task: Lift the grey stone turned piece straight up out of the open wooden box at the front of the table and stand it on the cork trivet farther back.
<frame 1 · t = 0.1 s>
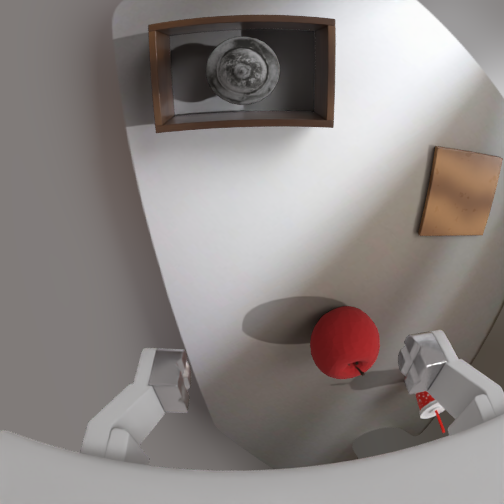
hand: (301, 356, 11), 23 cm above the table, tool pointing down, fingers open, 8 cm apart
trivet: (462, 194, 32), on the table
grey stone turned piece: (243, 70, 26), resting in open wooden box
apple: (338, 319, 43), on the table
open wooden box: (243, 70, 25), on the table
beverage cup: (420, 371, 52), on the table
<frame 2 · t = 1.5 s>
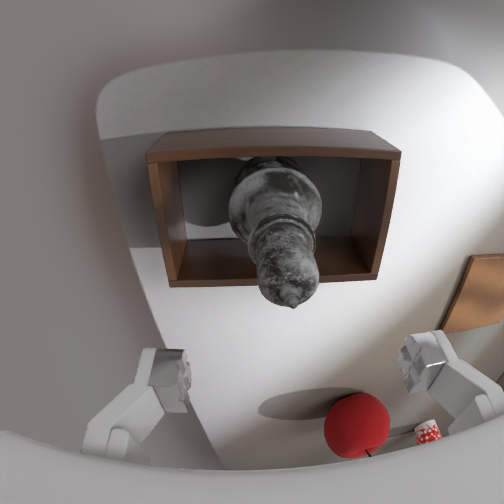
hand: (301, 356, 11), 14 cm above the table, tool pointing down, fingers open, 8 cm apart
trivet: (487, 292, 30), on the table
grey stone turned piece: (270, 188, 23), resting in open wooden box
apple: (351, 400, 40), on the table
open wooden box: (271, 189, 23), on the table
beverage cup: (424, 424, 50), on the table
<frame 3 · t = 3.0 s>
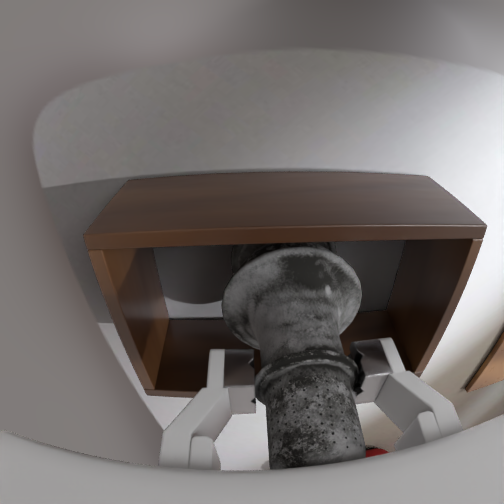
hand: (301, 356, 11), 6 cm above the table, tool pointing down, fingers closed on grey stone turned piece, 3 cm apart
grey stone turned piece: (283, 257, 16), resting in open wooden box, touching gripper
open wooden box: (284, 259, 16), on the table
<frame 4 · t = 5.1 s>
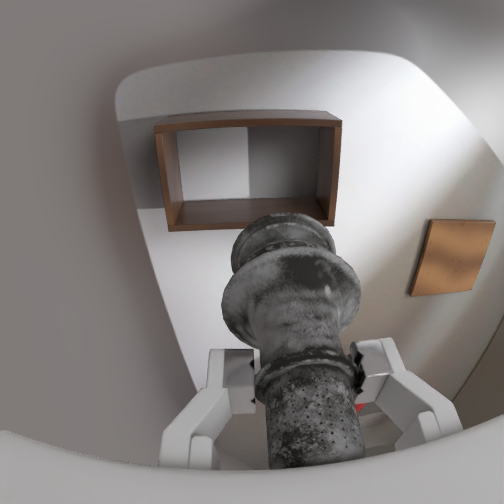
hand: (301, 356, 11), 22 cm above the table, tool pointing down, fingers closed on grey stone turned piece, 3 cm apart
trivet: (453, 257, 35), on the table
grey stone turned piece: (283, 257, 16), point 15 cm above the table, touching gripper
open wooden box: (248, 159, 29), on the table
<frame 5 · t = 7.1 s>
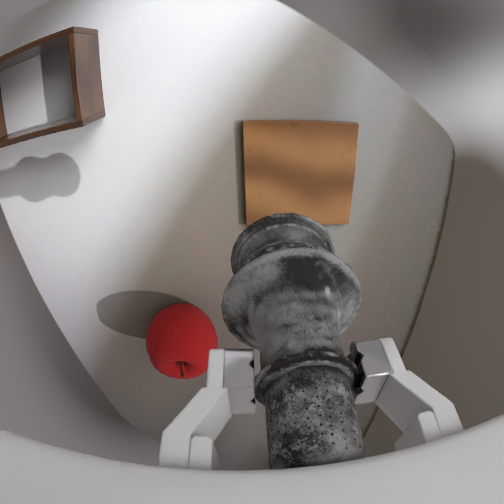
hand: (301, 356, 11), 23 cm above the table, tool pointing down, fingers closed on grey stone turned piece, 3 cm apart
trivet: (300, 173, 31), on the table
grey stone turned piece: (283, 258, 16), point 17 cm above the table, touching gripper
apple: (185, 316, 41), on the table
open wooden box: (43, 88, 24), on the table
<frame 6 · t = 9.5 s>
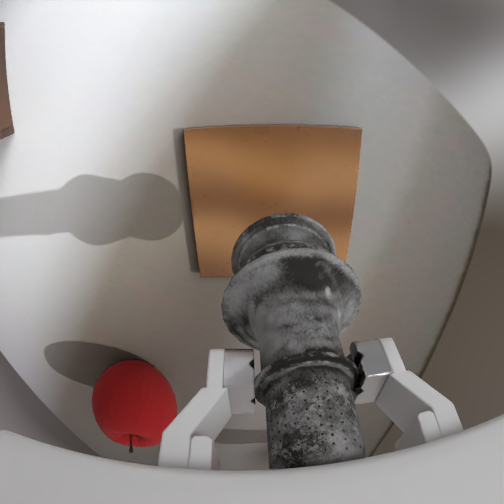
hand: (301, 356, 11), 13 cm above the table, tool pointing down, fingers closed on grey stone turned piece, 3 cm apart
trivet: (274, 204, 22), on the table
grey stone turned piece: (283, 258, 16), point 6 cm above the table, touching gripper
apple: (141, 371, 32), on the table
when the fingers open (7 cm above the table, at t = 11.2 s): grey stone turned piece stays where it is, resting on trivet.
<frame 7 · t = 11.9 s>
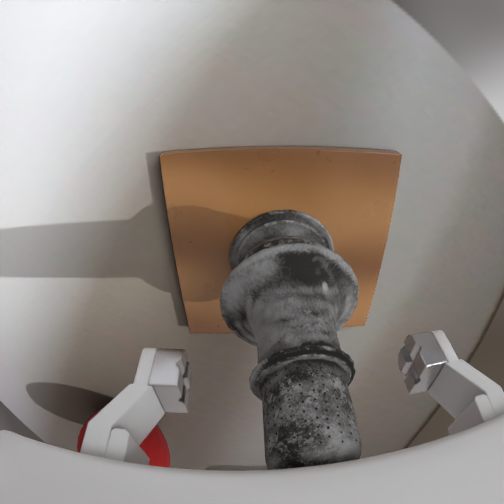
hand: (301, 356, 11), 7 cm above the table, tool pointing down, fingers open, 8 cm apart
trivet: (282, 250, 17), on the table
grey stone turned piece: (282, 254, 16), resting on trivet
apple: (130, 415, 27), on the table
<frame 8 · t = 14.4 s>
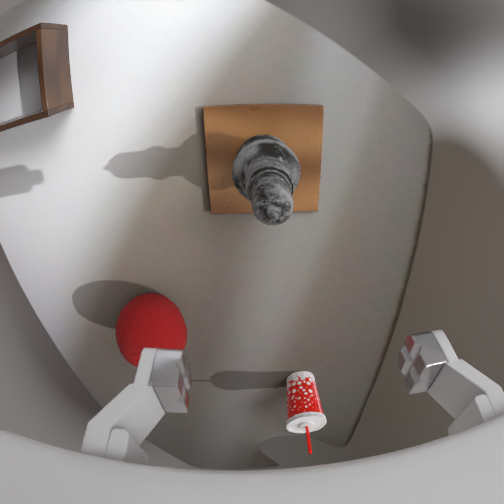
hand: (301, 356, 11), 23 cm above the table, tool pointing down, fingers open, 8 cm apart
trivet: (264, 159, 30), on the table
grey stone turned piece: (263, 160, 30), resting on trivet
apple: (157, 307, 41), on the table
open wooden box: (19, 82, 23), on the table
beverage cup: (299, 377, 50), on the table
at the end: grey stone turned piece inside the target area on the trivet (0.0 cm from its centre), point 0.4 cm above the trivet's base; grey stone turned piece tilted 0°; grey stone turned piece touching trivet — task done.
